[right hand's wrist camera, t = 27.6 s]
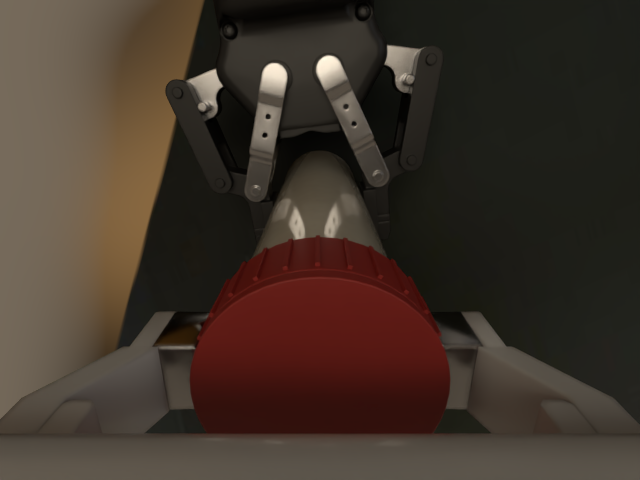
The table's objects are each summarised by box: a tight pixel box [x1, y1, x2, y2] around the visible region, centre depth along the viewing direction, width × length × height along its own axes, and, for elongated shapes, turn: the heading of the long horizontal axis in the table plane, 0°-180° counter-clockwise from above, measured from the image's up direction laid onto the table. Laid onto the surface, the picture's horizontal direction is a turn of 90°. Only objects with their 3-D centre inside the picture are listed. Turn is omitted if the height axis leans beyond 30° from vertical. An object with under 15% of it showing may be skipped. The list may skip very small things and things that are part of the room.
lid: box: [190, 235, 450, 434], centre depth 9 cm, size 6×6×2 cm
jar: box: [252, 151, 388, 258], centre depth 18 cm, size 5×5×20 cm
